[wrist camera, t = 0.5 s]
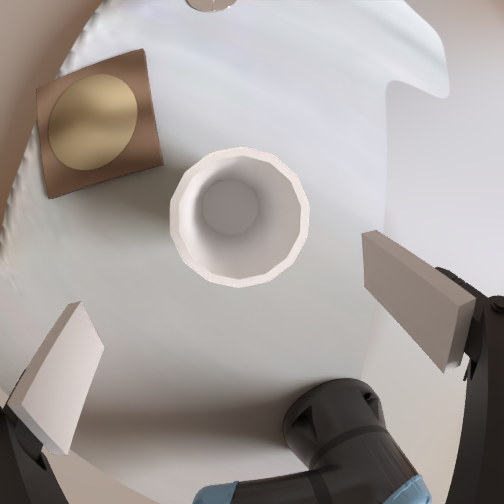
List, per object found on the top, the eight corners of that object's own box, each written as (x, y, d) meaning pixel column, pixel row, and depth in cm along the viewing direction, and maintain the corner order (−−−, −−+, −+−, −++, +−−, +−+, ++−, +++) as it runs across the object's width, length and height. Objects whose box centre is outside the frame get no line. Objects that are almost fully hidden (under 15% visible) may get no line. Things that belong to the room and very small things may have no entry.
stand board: (163, 164, 31) (161, 163, 30) (53, 198, 30) (47, 199, 29) (145, 52, 28) (142, 47, 27) (40, 91, 27) (35, 88, 25)
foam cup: (176, 238, 33) (155, 268, 20) (198, 154, 31) (188, 132, 19) (261, 258, 34) (288, 298, 22) (283, 176, 33) (325, 171, 20)
